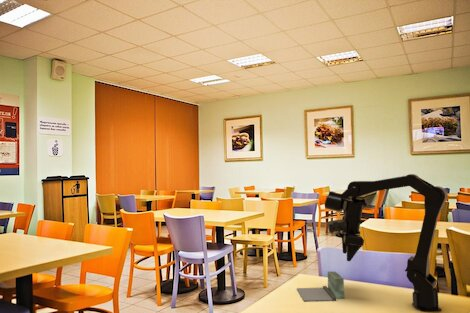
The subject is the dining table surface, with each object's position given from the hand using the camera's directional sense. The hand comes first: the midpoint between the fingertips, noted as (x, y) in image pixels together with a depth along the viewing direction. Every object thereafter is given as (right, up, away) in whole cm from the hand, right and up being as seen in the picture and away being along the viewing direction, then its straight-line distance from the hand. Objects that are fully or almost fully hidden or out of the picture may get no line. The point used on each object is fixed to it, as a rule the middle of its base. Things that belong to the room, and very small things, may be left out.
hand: (346, 257), depth 134 cm
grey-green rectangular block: (-4, -13, -1) cm, 14 cm away
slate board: (-12, -13, -1) cm, 18 cm away
